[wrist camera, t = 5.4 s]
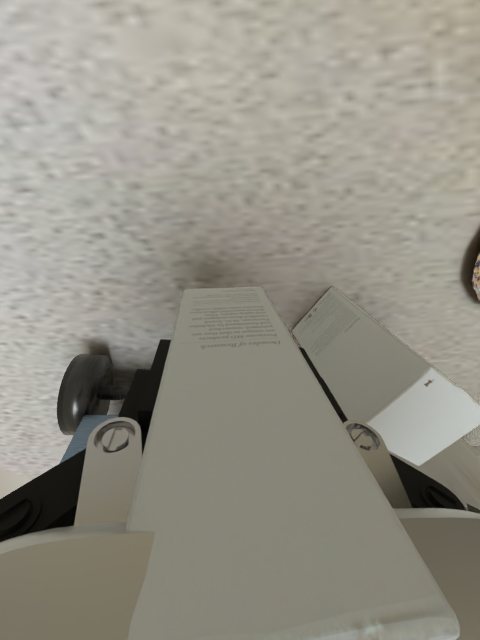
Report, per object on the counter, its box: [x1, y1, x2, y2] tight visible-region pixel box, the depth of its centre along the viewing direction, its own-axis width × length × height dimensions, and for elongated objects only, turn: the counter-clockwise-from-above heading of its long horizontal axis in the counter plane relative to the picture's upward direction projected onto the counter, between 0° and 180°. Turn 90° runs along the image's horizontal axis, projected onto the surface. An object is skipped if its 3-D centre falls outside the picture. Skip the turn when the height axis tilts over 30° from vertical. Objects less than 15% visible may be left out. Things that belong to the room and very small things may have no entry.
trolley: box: [57, 354, 130, 463], centre depth 21 cm, size 13×18×21 cm
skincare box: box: [125, 286, 460, 640], centre depth 9 cm, size 6×4×12 cm
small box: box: [292, 287, 480, 466], centre depth 22 cm, size 8×6×13 cm
